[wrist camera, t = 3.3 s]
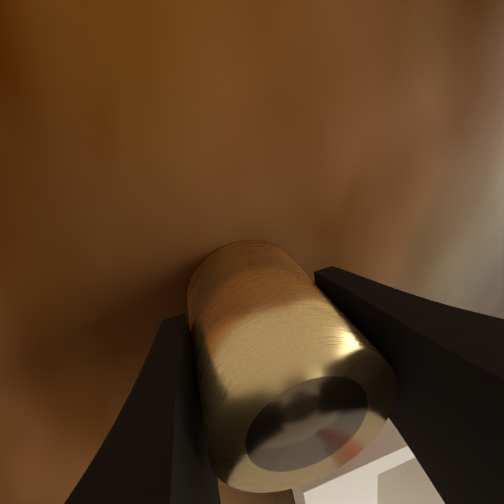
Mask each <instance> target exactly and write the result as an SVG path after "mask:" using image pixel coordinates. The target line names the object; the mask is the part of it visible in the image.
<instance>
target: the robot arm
mask: <svg viewBox="0 0 504 504" xmlns="http://www.w3.org/2000/svg"><path fill="white" fill-rule="evenodd" d="M314 277H315V284H316V285H317V286H318V287H319V288H320V289H321V291H322V292H323V293H324V294H325V295H326V296H327V297H328V298H329V299H330V300H331V301H332V302H333V303H334V304H335V306H336V307H337V308H338V309H339V310H340V311H341V312H342V313H343V314H344V315H345V316H346V317H347V318H348V319H349V321H350V322H351V323H352V324H353V325H354V326H355V327H356V328H357V329H358V330H359V331H360V332H361V333H362V335H363V336H364V337H365V338H366V339H367V340H368V341H369V342H370V343H371V344H372V345H373V346H374V347H375V348H376V350H377V351H378V352H379V353H380V354H381V355H382V356H383V357H384V358H385V359H386V360H387V361H388V363H389V364H390V365H391V367H392V369H393V371H394V373H395V377H396V381H397V393H396V399H395V403H394V406H393V409H392V411H391V413H390V416H389V419H390V420H391V422H392V423H393V425H394V426H395V427H396V429H397V430H398V432H399V433H400V435H401V436H402V438H403V439H404V441H405V442H406V444H407V445H408V447H409V448H410V450H411V451H412V453H413V454H414V456H415V457H416V459H417V460H418V462H419V464H420V465H421V467H422V468H423V470H424V471H425V473H426V474H427V476H428V478H429V479H430V481H431V482H432V484H433V486H434V487H435V489H436V490H437V492H438V493H439V495H440V497H441V498H442V500H443V501H444V503H445V504H504V319H501V318H496V317H492V316H488V315H484V314H480V313H476V312H471V311H467V310H463V309H459V308H456V307H452V306H448V305H445V304H441V303H438V302H435V301H431V300H428V299H425V298H422V297H418V296H415V295H412V294H409V293H406V292H403V291H400V290H397V289H394V288H392V287H389V286H386V285H383V284H380V283H378V282H375V281H372V280H370V279H367V278H364V277H361V276H359V275H356V274H353V273H351V272H348V271H345V270H342V269H339V268H336V267H333V266H331V267H328V268H325V269H322V270H319V271H316V272H314ZM64 504H220V496H219V488H218V480H217V476H216V475H215V473H214V471H213V470H212V468H211V466H210V462H209V459H208V452H207V445H206V438H205V431H204V423H203V416H202V409H201V402H200V394H199V387H198V380H197V372H196V365H195V358H194V350H193V343H192V336H191V332H190V329H189V326H188V323H187V321H186V318H185V315H184V314H182V315H179V316H176V317H172V318H169V319H166V320H163V321H162V323H161V324H160V327H159V329H158V332H157V334H156V337H155V339H154V342H153V344H152V347H151V349H150V351H149V354H148V356H147V358H146V361H145V363H144V365H143V367H142V369H141V372H140V374H139V376H138V378H137V380H136V382H135V384H134V386H133V388H132V391H131V392H130V394H129V396H128V398H127V400H126V402H125V404H124V406H123V408H122V410H121V411H120V413H119V415H118V417H117V419H116V421H115V423H114V425H113V426H112V428H111V430H110V432H109V433H108V435H107V437H106V439H105V440H104V442H103V444H102V445H101V447H100V449H99V450H98V452H97V454H96V455H95V457H94V459H93V460H92V462H91V463H90V465H89V467H88V468H87V470H86V472H85V473H84V475H83V476H82V478H81V479H80V481H79V482H78V484H77V485H76V487H75V488H74V490H73V491H72V493H71V494H70V496H69V497H68V499H67V500H66V502H65V503H64Z"/></svg>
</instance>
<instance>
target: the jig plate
mask: <svg viewBox="0 0 504 504" xmlns="http://www.w3.org/2000/svg"><path fill="white" fill-rule="evenodd" d="M292 491H293V495H294V500H295V504H445V503H444V501H443V500H442V498H441V497H440V495H439V493H438V492H437V490H436V489H435V487H434V486H433V484H432V482H431V481H430V479H429V478H428V476H427V474H426V473H425V471H424V470H423V468H422V467H421V465H420V464H419V462H418V460H417V459H416V457H415V456H414V454H413V453H412V451H411V450H410V448H409V447H408V445H407V444H406V442H405V441H404V439H403V438H402V436H401V435H400V433H399V432H398V430H397V429H396V427H395V426H394V425H393V423H392V422H391V420H390V419H389V418H388V419H387V421H386V423H385V425H384V426H383V427H382V429H381V430H380V432H379V433H378V434H377V435H376V437H375V438H374V439H373V440H372V441H371V442H370V443H369V444H368V445H367V446H366V447H365V448H364V449H363V450H362V451H361V452H360V453H359V454H358V455H356V456H355V457H354V458H353V459H351V460H350V461H349V462H347V463H346V464H344V465H343V466H341V467H340V468H338V469H337V470H335V471H333V472H332V473H330V474H328V475H326V476H324V477H322V478H320V479H318V480H316V481H313V482H311V483H308V484H305V485H302V486H299V487H296V488H292Z"/></svg>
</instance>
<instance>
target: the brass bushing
mask: <svg viewBox="0 0 504 504" xmlns="http://www.w3.org/2000/svg"><path fill="white" fill-rule="evenodd" d="M187 307H188V314H189V321H190V329H191V336H192V343H193V350H194V358H195V365H196V372H197V380H198V387H199V394H200V402H201V409H202V416H203V423H204V431H205V438H206V445H207V452H208V459H209V462H210V466H211V468H212V470H213V471H214V473H215V475H216V476H217V477H218V478H219V479H220V480H221V481H223V482H224V483H226V484H227V485H229V486H231V487H233V488H236V489H239V490H242V491H247V492H256V493H267V492H277V491H284V490H288V489H292V488H296V487H299V486H302V485H305V484H308V483H311V482H313V481H316V480H318V479H320V478H322V477H324V476H326V475H328V474H330V473H332V472H333V471H335V470H337V469H338V468H340V467H341V466H343V465H344V464H346V463H347V462H349V461H350V460H351V459H353V458H354V457H355V456H356V455H358V454H359V453H360V452H361V451H362V450H363V449H364V448H365V447H366V446H367V445H368V444H369V443H370V442H371V441H372V440H373V439H374V438H375V437H376V435H377V434H378V433H379V432H380V430H381V429H382V427H383V426H384V425H385V423H386V421H387V419H388V418H389V416H390V413H391V411H392V409H393V406H394V403H395V399H396V393H397V381H396V377H395V373H394V371H393V369H392V367H391V365H390V364H389V363H388V361H387V360H386V359H385V358H384V357H383V356H382V355H381V354H380V353H379V352H378V351H377V350H376V348H375V347H374V346H373V345H372V344H371V343H370V342H369V341H368V340H367V339H366V338H365V337H364V336H363V335H362V333H361V332H360V331H359V330H358V329H357V328H356V327H355V326H354V325H353V324H352V323H351V322H350V321H349V319H348V318H347V317H346V316H345V315H344V314H343V313H342V312H341V311H340V310H339V309H338V308H337V307H336V306H335V304H334V303H333V302H332V301H331V300H330V299H329V298H328V297H327V296H326V295H325V294H324V293H323V292H322V291H321V289H320V288H319V287H318V286H317V285H316V284H315V283H314V282H313V281H312V280H311V279H310V278H309V277H308V275H307V274H306V273H305V272H304V271H303V270H302V269H301V268H300V267H299V266H298V265H297V264H296V263H295V262H294V260H293V259H292V258H291V257H290V256H289V255H288V254H287V253H286V252H285V251H284V250H282V249H281V248H279V247H277V246H275V245H273V244H271V243H267V242H264V241H257V240H247V241H240V242H235V243H232V244H229V245H226V246H224V247H222V248H220V249H218V250H216V251H215V252H213V253H212V254H211V255H209V256H208V257H207V258H206V259H205V260H204V261H203V262H202V263H201V264H200V265H199V266H198V268H197V269H196V271H195V272H194V274H193V276H192V278H191V280H190V283H189V286H188V290H187Z"/></svg>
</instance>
